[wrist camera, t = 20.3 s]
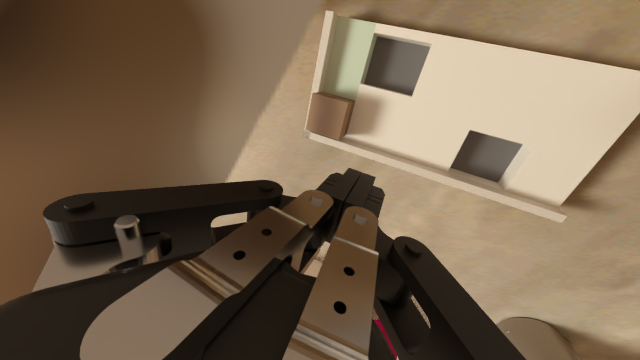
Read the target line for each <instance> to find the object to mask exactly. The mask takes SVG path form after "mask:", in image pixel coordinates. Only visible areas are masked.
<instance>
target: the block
mask: <svg viewBox="0 0 640 360" xmlns="http://www.w3.org/2000/svg"><path fill="white" fill-rule="evenodd" d="M354 105H355V101H354V100H351V99H347V98H344V97H340V96H336V95H333V94H329V93H325V92H316V93H312V98H311V104H310V109H309V114H308V120H307V125H306V130H308V131H311V132H314V133H317V134H320V135H324V136H327V137H330V138H333V139H336V140H340V139H341V138H342V137H344V136H345V135H346V134H347V130H348V127H349V123H350V119H351V116H352V112H353V108H354Z"/></svg>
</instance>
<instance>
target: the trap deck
mask: <svg viewBox="0 0 640 360" xmlns="http://www.w3.org/2000/svg"><path fill="white" fill-rule="evenodd" d="M316 92H325V93H329V94H333V95H336V96H340V97H344V98H347V99H351V100H354V101H355V105H354V108H353V112H352V116H351V119H350V123H349V127H348V130H347V134H346V135H345V136H344V137H342V138H341V139H340V140H336V139H333V138H330V137H327V136H324V135H320V134H317V133H314V132H311V131H308V130H306V125H307V120H308V114H309V109H310V104H311V98H312V93H316ZM639 113H640V71H637V70H632V69H626V68H621V67H615V66H610V65H604V64H599V63H593V62H588V61H582V60H577V59H571V58H566V57H560V56H555V55H549V54H544V53H538V52H533V51H527V50H522V49H516V48H511V47H505V46H500V45H495V44H489V43H484V42H478V41H473V40H467V39H462V38H456V37H451V36H445V35H440V34H434V33H429V32H423V31H418V30H412V29H407V28H401V27H396V26H390V25H385V24H379V23H374V22H368V21H363V20H357V19H352V18H346V17H341V16H338V15H337V14H336V13H335V12H332V11H327V10H326V14H325V19H324V25H323V30H322V36H321V41H320V47H319V53H318V58H317V64H316V69H315V75H314V80H313V86H312V91H311V97H310V102H309V108H308V113H307V119H306V124H305V130H304V135H303V136H304V137H307V138H309V139H312V140H315V141H318V142H321V143H324V144H327V145H330V146H333V147H336V148H339V149H342V150H345V151H348V152H351V153H354V154H357V155H360V156H363V157H366V158H369V159H372V160H375V161H378V162H381V163H384V164H387V165H390V166H393V167H396V168H399V169H402V170H405V171H408V172H411V173H414V174H417V175H420V176H423V177H426V178H429V179H432V180H435V181H438V182H441V183H444V184H447V185H450V186H453V187H456V188H459V189H461V190H464V191H467V192H470V193H473V194H476V195H479V196H482V197H485V198H488V199H491V200H494V201H497V202H500V203H503V204H506V205H509V206H512V207H515V208H518V209H521V210H524V211H527V212H530V213H533V214H536V215H539V216H542V217H545V218H548V219H551V220H554V221H557V222H560V223H562V222H563V221H564V219H565V218H566V217H567V215H565V214H564V213H563V212H562V211H561V210H560V209H559V206H560V205H561V204H562V203H563V202H564V201H565V199H566V198H567V197H568V196H569V195H570V194H571V192H572V191H573V190H574V189H575V188H576V187H577V185H578V184H579V183H580V182H581V181H582V180H583V178H584V177H585V176H586V175H587V174H588V173H589V171H590V170H591V169H592V168H593V167H594V166H595V164H596V163H597V162H598V161H599V160H600V159H601V157H602V156H603V155H604V154H605V153H606V152H607V150H608V149H609V148H610V147H611V146H612V144H613V143H614V142H615V141H616V140H617V139H618V137H619V136H620V135H621V134H622V133H623V132H624V130H625V129H626V128H627V127H628V126H629V125H630V123H631V122H632V121H633V120H634V119H635V118H636V116H637V115H638V114H639Z"/></svg>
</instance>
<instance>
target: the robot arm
mask: <svg viewBox="0 0 640 360" xmlns="http://www.w3.org/2000/svg"><path fill="white" fill-rule="evenodd" d="M361 174H362V175H361ZM375 178H376V177H374V176H371V175H368V174H365V173H362V172H359V171H357V170H354V169H351V168H348V170H347V171H346V172H345V173H344V175H342V174H339V173H334V174H331V175H329V177H328V178H327V179H326V180H325V181H324V182H323V183H322V184H321V185H320V186H319V187H318V188H317V189H316V190H308V191H305V192H303V193H302V194H301V195H299V196H298V197H290V196H285V195H282V194H283V188H282V186H281V185H280V184H278V183H276V182H273V181H269V180H256V181H243V182H230V183H217V184H204V185H190V186H178V187H164V188H151V189H138V190H125V191H111V192H98V193H85V194H78V195H73V196H69V197H65V198H63V199H60V200H57V201H55V202H53V203H52V204H50V205H49V206H47V207H46V208H45V210H44V211H43V216H44V218H45V220H46V223H47V225H48V227H49V229H50V232H51V234H52V241H53V243H54V245H55V247H54V249H53V251H52V253H51V255H50V257H49V259H48V261H47V263H46V265H45V267H44V269H43V271H42V273H41V275H40V277H39V279H38V281H37V283H36V285H35V287H34V289H33V291H32V292H31V293H29V294H26V295H23V296H20V297H18V298H15V299H13V300H11V301H8V302H6V303H4V304H2V305H0V360H396V359H395V356H394V354H393V352H392V350H391V347H390V345H389V343H388V341H387V339H386V338H385V336H384V334H383V332H382V331H381V329H380V328H379V327H378V325H377V324H376V323H375V321H374V320H373V319H372V313H373V307H374V309H375V311H376V313H377V315H378V317H379V319H380V321H381V323H382V325H383V327H384V329H385V331H386V333H387V335H388V338H389V340H390V342H391V344H392V346H393V348H394V350H395V352H396V354H397V356H398V358H399V360H581V359H580V357H579V356H578V354H577V352H576V351H575V349H574V347H573V346H572V344H571V342H569V341H567V340H565V339H563V337H562V336H561V335H560V333H559V332H558V331H557V330H556V329H555V328H553V327H552V326H550V325H548V324H546V323H544V322H542V321H538V320H535V319H530V318H511V319H507V320H504V321H502V322H500V323H499V324H497V326H496V325H495V323H494V322H493V321H492V320H491V319H490V318H489V317H488V316H487V314H486V313H485V312H484V311H483V310H482V309H481V308H480V307H479V305H478V304H477V303H476V302H475V301H474V300H473V299H472V297H471V296H470V295H469V294H468V293H467V292H466V291H465V290H464V288H463V287H462V286H461V285H460V284H459V283H458V282H457V281H456V279H455V278H454V277H453V276H452V275H451V274H450V273H449V272H448V270H447V269H446V268H445V267H444V266H443V265H442V264H441V262H440V261H439V260H438V259H437V258H436V257H435V256H434V255H433V253H432V252H431V251H430V250H429V249H428V248H427V247H426V246H425V245H424V244H422V243H421V242H419V241H417V240H415V239H413V238H410V237H406V236H400V237H397V238H396V239H395V240H393V239H392V238H390V237H389V236H387V235H386V234H385V233H383V231H382V230H381V229H380V228H379V226H378V217H379V214H380V210H381V207H382V203H383V200H384V196H385V194H384V192H383V190H382V189H381V188H378V187H375V186H373V184H374V181H375ZM242 212H247V222H245V223H239V224H233V225H227V226H221V227H215V228H213V227H211V222H212V220H213V219H214V218H216V217H218V216H221V215H228V214H235V213H242ZM325 241H327V242H329V243H331V244H330V246H329V249H328V251H327V254H326V256H325V259H324V261H323V264H322V266H321V268H320V271H319V273H318V276H317V277H313V276H309V275H305V274H304V273H305V272H306V270H307V269H308V267H309V266H310V265H311V263H312V262H313V260H314V259H315V258H316V256H317V255H318V253H319V251H320V248H321V246H322V245H323V243H324V242H325ZM412 295H413V296H414V297H415V299H416V300H417V302H418V303H419V305H420V306H421V308H422V309H423V311H424V312H425V314H426V315H427V317H428V319H429V322H430V327H431V329H430V328H429V326H428V325H427V323H426V321H425V320H424V318H423V317H422V315H421V314H420V312H419V311H418V309H417V307H416V306H415V304H414V303H413V301H412V300H411V297H412Z"/></svg>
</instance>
